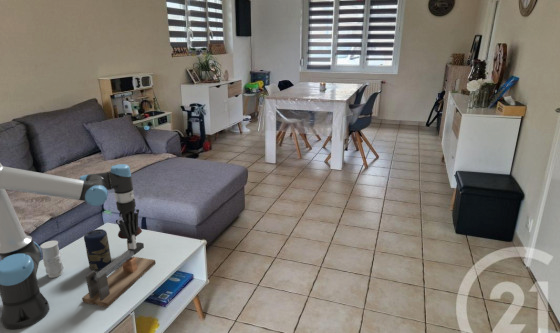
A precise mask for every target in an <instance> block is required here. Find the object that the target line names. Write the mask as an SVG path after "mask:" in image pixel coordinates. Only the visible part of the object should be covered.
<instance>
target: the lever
mask: <svg viewBox="0 0 560 333" xmlns="http://www.w3.org/2000/svg"><path fill="white" fill-rule="evenodd" d="M144 247H145V244H144V243H143V242H137V241H136V249H128V248H127V249H126V251H124V252H123V253H122V254H121V255H119V256H118V257H116V258H115V259H114V260H111V263H110V264H108V265H107V266H106V267H104V268H103V269H99V271H97V272H96V274H95V275H93V276H92V277H91V280H92V281H97V280H96V278H97V277H98V276H99V275H101V274H102V273H103V272H105V273H106V275H107V277H108V276H110V275H111V274H112V273H113V272H115V271H116V270H117V269H118V268H120V267H121V266H122V264H123V263H124V262H126V261H127V260H128V259H129V258H131V257H134V256H135V255H136V254H137V253H139V252H140V251H141V250H143V249H144Z"/></svg>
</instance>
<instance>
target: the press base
mask: <svg viewBox="0 0 560 333" xmlns="http://www.w3.org/2000/svg"><path fill="white" fill-rule="evenodd" d="M155 265H156V260H155V259H153V258H152V259H151V258H143V257H140V256H132V257H131V258H129V259H128V260H127V261H126V262H124V263H123V264H122V265H121V266H119V267H118V268H117V269H115V270H114V271H113V272H112V273H110V274H109V275H108V276H107V275H106V273H105V272H103V273H102V274H101V275H99V276H98V277H97V278H96V280H97V281H92V280H91V277H92V276H93V275H95V274H96V273H97V272H96V270H94V269H92V270H91V271H90V272H88V273H87V274H86V275H85V279H86V284H87V285H86V286H87V289H88V290H87V291H88V292H87V293H86V294H85V295H84V296H83V297H81V300H82V303H85V304H89V305H94V306H99V307H105V308H109V307H110V306H111V305H112V304H113V303H115V301H117V300H118V299H119V298H120V297H121V296H122V295H123V294H124V293H126V291H128V290H129V289H130V288H131V287H132V286H133V285H134V284H135V283H136V282H137V281H138V280H139V279H140V278H142V277H143V276H144V275H145V274H146V273H147V272H148V271H150V269H151V268H153V267H154V266H155Z"/></svg>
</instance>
